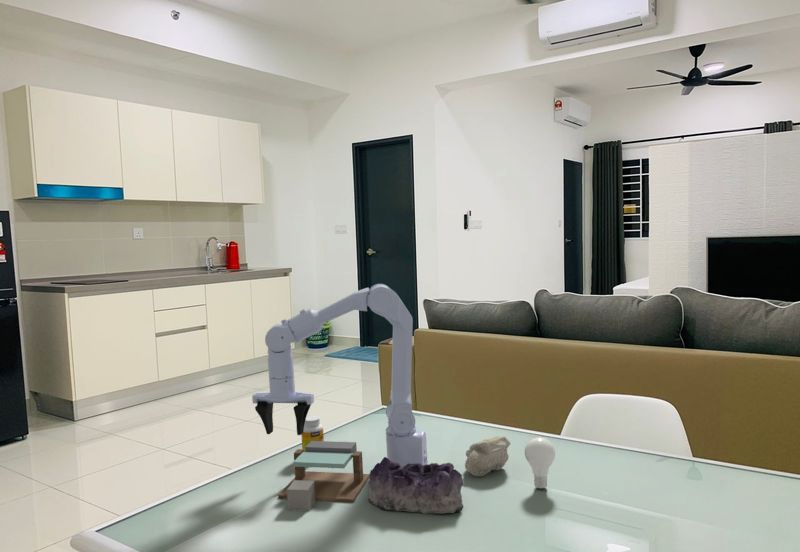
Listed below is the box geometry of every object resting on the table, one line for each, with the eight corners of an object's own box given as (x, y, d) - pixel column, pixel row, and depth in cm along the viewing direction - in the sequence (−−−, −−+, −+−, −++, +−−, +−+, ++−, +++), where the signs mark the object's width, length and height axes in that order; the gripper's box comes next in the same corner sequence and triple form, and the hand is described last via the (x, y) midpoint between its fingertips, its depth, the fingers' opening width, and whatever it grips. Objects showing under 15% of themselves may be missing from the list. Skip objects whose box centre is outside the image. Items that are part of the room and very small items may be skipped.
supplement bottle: (311, 463, 146) (308, 423, 145) (298, 458, 150) (296, 418, 149) (329, 456, 150) (327, 417, 149) (316, 451, 154) (314, 413, 153)
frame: (369, 476, 136) (368, 447, 136) (353, 502, 124) (352, 469, 123) (300, 473, 140) (299, 444, 139) (278, 498, 127) (276, 466, 127)
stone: (315, 501, 125) (314, 480, 125) (309, 511, 121) (308, 489, 120) (295, 500, 126) (294, 480, 125) (288, 510, 121) (286, 489, 121)
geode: (361, 518, 117) (358, 467, 118) (374, 499, 128) (371, 453, 129) (464, 517, 114) (460, 464, 114) (467, 498, 125) (464, 450, 126)
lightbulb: (558, 484, 128) (557, 434, 127) (553, 496, 122) (551, 444, 121) (529, 480, 130) (527, 431, 129) (522, 492, 124) (521, 441, 124)
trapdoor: (358, 451, 137) (357, 442, 137) (344, 469, 126) (344, 459, 126) (310, 449, 139) (309, 440, 139) (293, 467, 129) (292, 457, 129)
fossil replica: (456, 478, 134) (498, 488, 129) (456, 443, 132) (499, 453, 128) (475, 455, 144) (514, 464, 140) (475, 423, 143) (515, 431, 138)
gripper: (317, 372, 139) (320, 428, 140) (260, 371, 142) (263, 426, 143) (306, 379, 132) (309, 438, 133) (246, 379, 135) (250, 436, 136)
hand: (285, 433), depth 138 cm, fingers open, 7 cm apart
